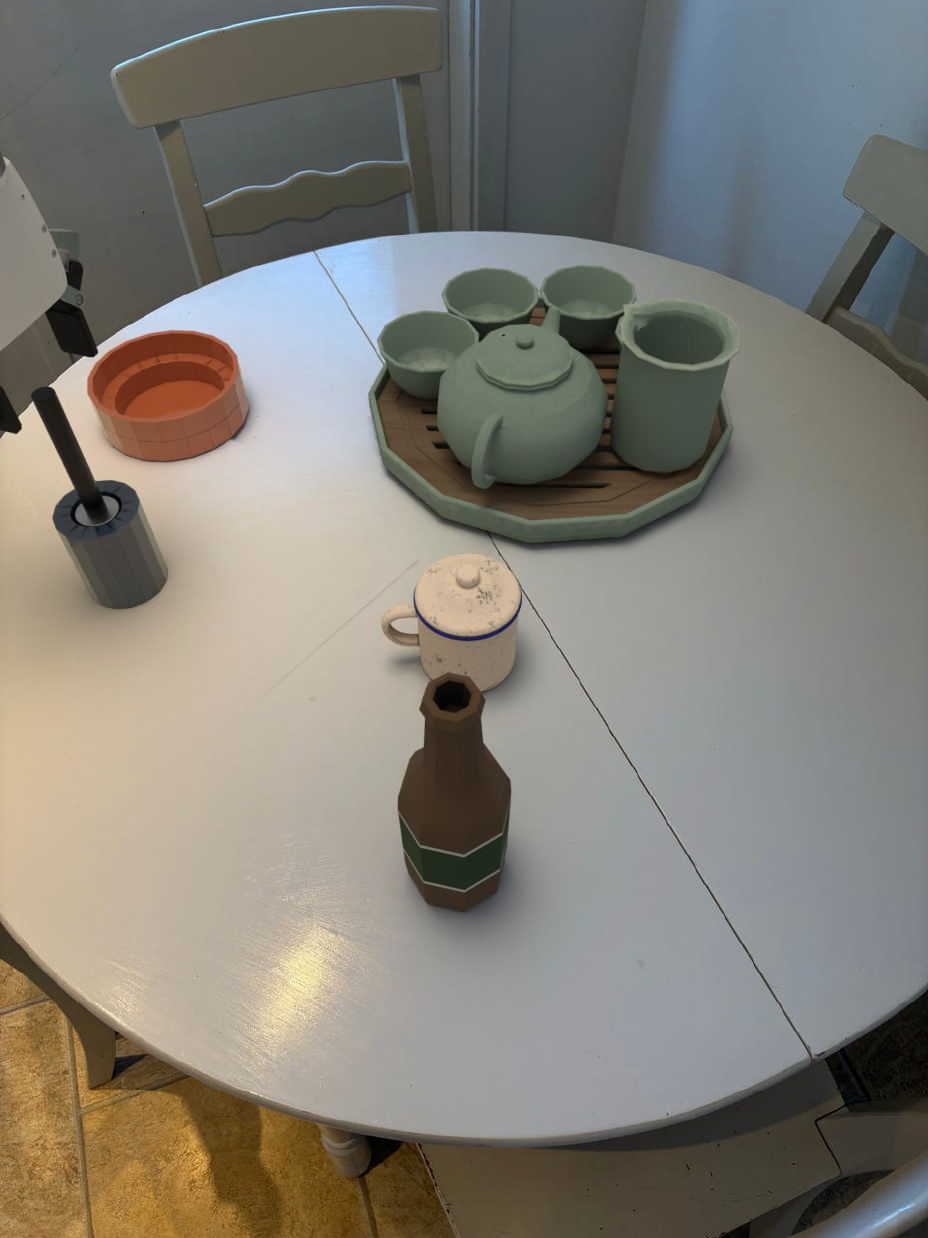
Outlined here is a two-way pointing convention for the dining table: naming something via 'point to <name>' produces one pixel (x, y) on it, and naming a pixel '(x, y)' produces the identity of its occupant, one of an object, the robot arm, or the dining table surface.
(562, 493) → the tea set
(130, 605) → the crock
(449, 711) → the beer bottle
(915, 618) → the dining table surface
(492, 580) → the teacup with lid
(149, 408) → the bowl
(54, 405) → the ball-tipped black rod
